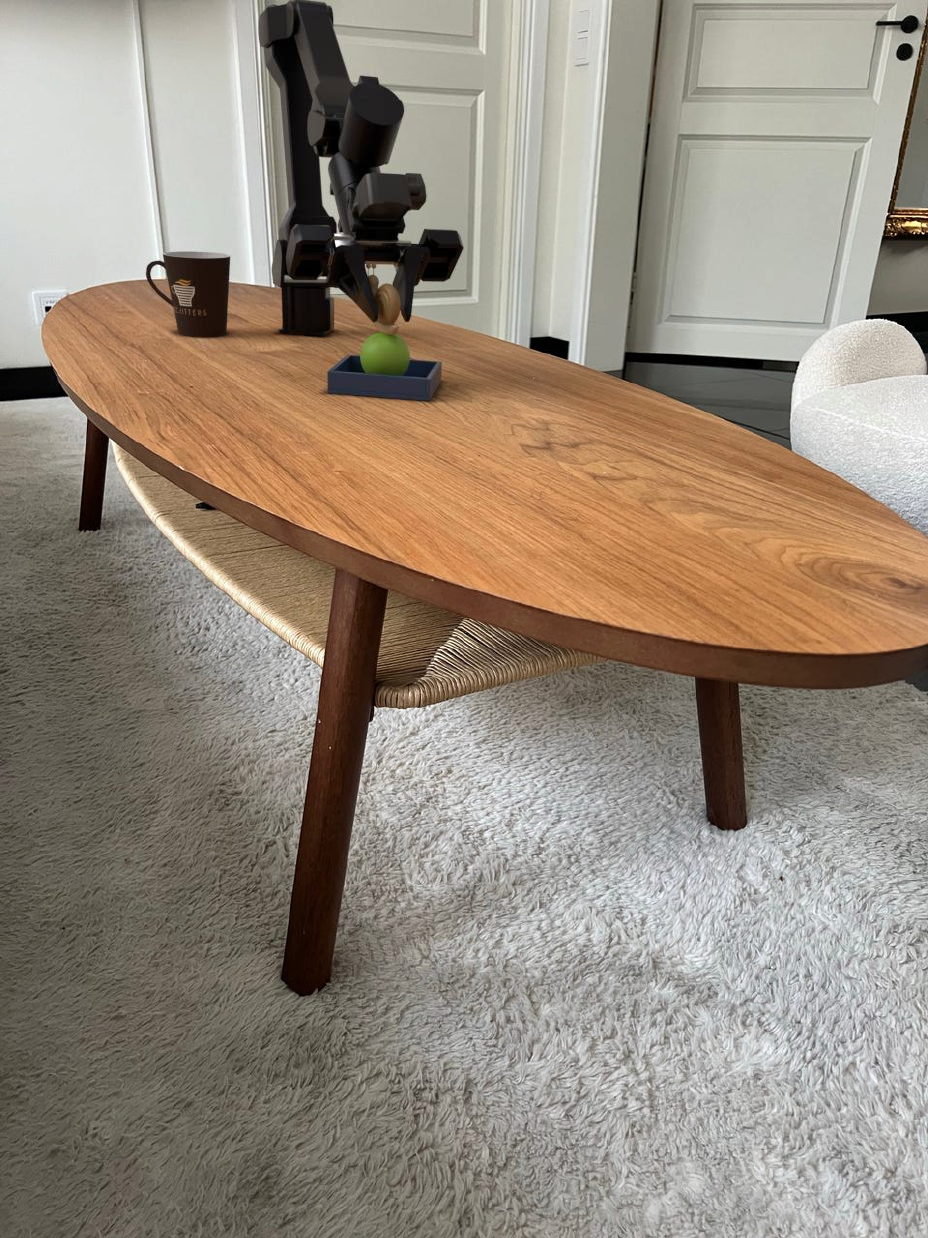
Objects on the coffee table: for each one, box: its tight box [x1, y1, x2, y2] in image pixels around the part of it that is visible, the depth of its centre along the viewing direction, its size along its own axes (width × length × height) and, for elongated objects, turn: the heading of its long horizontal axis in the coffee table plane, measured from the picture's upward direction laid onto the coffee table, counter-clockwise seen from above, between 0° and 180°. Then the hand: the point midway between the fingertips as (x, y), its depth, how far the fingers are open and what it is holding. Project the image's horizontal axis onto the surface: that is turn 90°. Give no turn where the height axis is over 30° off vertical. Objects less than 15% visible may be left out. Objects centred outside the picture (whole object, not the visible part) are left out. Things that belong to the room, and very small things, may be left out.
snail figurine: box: [359, 263, 411, 376], centre depth 98 cm, size 5×6×12 cm
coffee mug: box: [145, 250, 231, 338], centre depth 122 cm, size 12×9×10 cm
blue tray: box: [326, 353, 443, 402], centre depth 100 cm, size 11×10×2 cm
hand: (392, 319), depth 96 cm, fingers open, 3 cm apart
